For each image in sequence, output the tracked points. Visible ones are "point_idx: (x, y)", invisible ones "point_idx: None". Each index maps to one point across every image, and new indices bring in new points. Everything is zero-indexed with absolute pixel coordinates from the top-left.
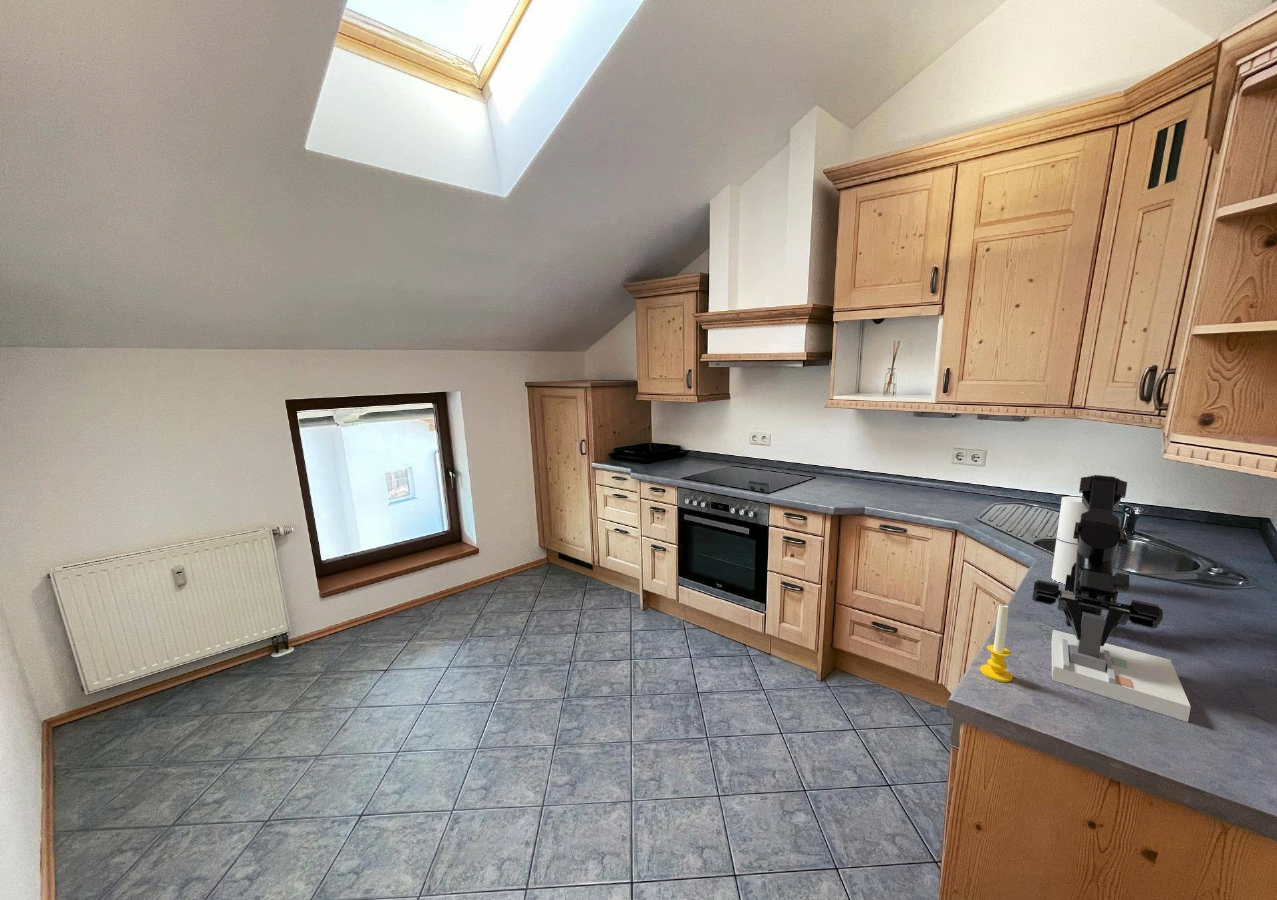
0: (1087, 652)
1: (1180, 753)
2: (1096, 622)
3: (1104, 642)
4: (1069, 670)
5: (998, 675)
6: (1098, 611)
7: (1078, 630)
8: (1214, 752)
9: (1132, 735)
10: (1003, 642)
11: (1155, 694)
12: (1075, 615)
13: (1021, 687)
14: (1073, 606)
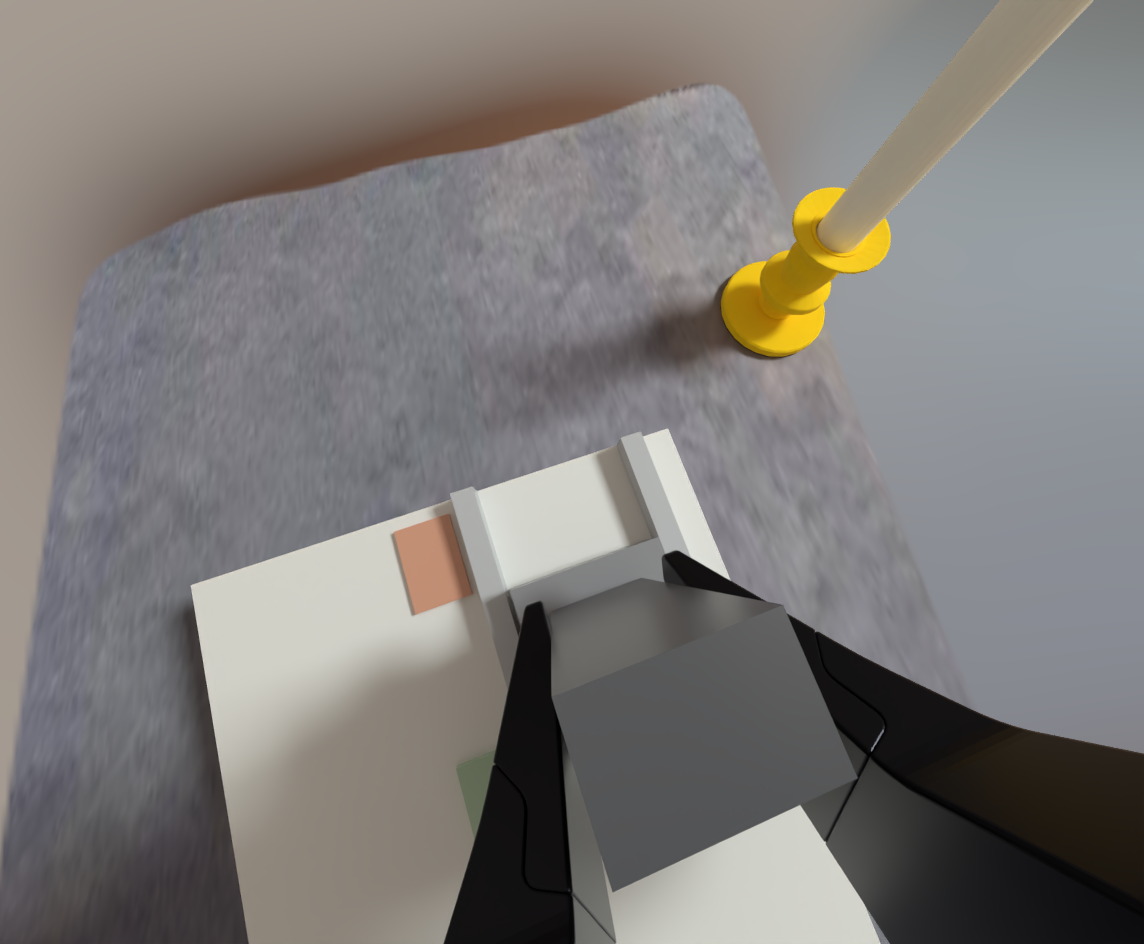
0: (603, 593)
1: (262, 335)
2: (624, 649)
3: (525, 615)
4: (614, 449)
5: (757, 284)
6: None
7: (709, 586)
8: (182, 435)
9: (377, 315)
10: (864, 167)
11: (315, 563)
12: (855, 687)
13: (682, 301)
14: (1030, 779)
